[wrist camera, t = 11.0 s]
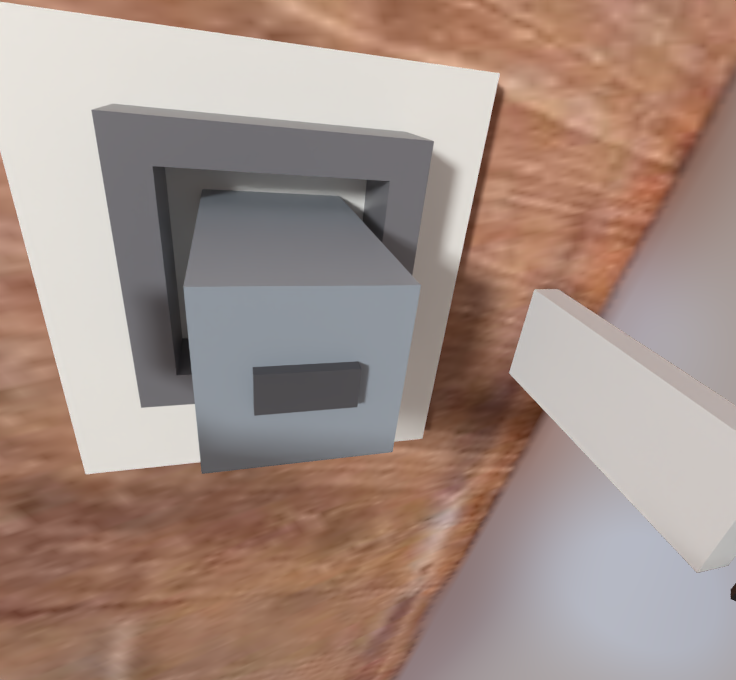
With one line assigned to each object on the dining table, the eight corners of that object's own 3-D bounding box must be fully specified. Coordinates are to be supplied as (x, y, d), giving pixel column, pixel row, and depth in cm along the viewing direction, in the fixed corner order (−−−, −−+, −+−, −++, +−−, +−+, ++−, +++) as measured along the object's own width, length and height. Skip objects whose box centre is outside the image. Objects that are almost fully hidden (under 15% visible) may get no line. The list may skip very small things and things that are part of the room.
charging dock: (415, 425, 24) (441, 475, 21) (91, 457, 20) (68, 524, 17) (485, 73, 16) (542, 73, 13) (-23, 1, 12) (-102, -22, 9)
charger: (330, 312, 18) (395, 460, 11) (210, 314, 17) (200, 483, 10) (339, 195, 16) (426, 290, 9) (202, 188, 15) (182, 293, 8)
